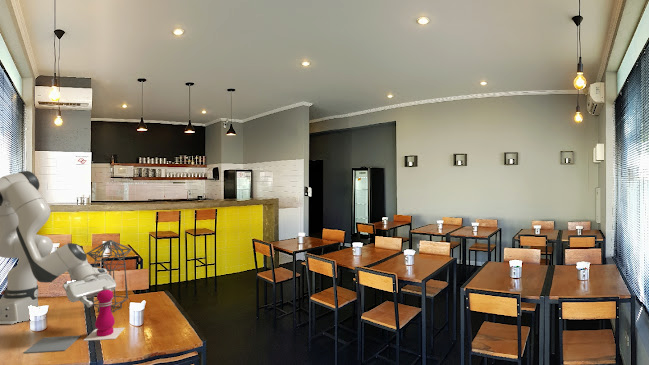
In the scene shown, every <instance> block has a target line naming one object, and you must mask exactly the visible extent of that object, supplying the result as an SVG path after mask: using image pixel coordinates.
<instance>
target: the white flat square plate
mask: <svg viewBox="0 0 649 365" xmlns="http://www.w3.org/2000/svg"><path fill="white" fill-rule="evenodd" d="M97 330H98V329H97V328H95V329H94V330H92V332H90V333H89V335H87V336H86V337H85V338H84V339H83V340H82V341H84V342H86V341H103V340H104V341H105V340H116V339H117V338H118V336H119V335H120V334H121V333H122V332H123V331H124V330H125V327H113V333H112V334H111V335H108V336H97V335H96V331H97Z"/></svg>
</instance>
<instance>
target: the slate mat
mask: <svg viewBox="0 0 649 365" xmlns="http://www.w3.org/2000/svg"><path fill="white" fill-rule="evenodd" d="M79 338H81V335H67V336H49V337H47V336H46V337H41V339H39V340H38V341H37V342H35V343H34V344H32V345H31V346H29V347H28V348H27V349H26V350H24V351H23V352H22V354H23V353H24V354H36V353H38V352H39V353H50V352H52V353H53V352H65V351H67V350H68V349H69V348H70V347H71V346H72V345H73V344H74V343H75V342H76V341H77V340H79Z"/></svg>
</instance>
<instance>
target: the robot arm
mask: <svg viewBox="0 0 649 365" xmlns="http://www.w3.org/2000/svg"><path fill="white" fill-rule="evenodd" d="M39 189H40V181H39V179H38V176H36V174H34V173H33V172H32V171H30V170H23V171H18V172H16V173H12V174H11V173H10V174H8V175H4V176H2V177H0V257H1V258H6V259H18V262H17V265H16V266H14V267H13V268H10V270H9V271H8V273H7V288H6V289H4V290H3V291H1V292H0V295H1V296H2V295H3V296H2V298H0V324H11V325H15V324H14V323H16V324H18V323H17V322H19V323H22V321H23V322H27V321H30V320H29V309H28V306H30V305H32V306H36V307H38V306H39V307H40V305H39V285H38V282H39V283H45V284H46V283H52V282H54V280H56V279H57V278H59V277H60V276H61V275H63V274H65V273H66V272H67V273H68V274H69V278H70V280H68V281H65V282H64V283H63V284H62V289H64V291H65V295H66V296H67V299H68V300H69V301H70V302H72V303H76V302H80V303H82V304H83V305H85V306H86V307H87V308H92V307H93V306H94V305H93V303H92V300H88V299H90V298H92V297H93V296H94V297H95V296H96V297H97V294H98V293H99V292H100V291H102V290H103V287H104V286H107V290H111V291H112V292H114V289H115V290H116V288H117V283H116V280H115V281H114V279H115V278H114V279H113V276H112V275H111V276H110V275H109V273H108V271H107V270H108V269H107V270H106V268H100V267H97V268H94V266H92V265H91V264H90V263H89V261H88V258H87V255H88V254H87V255H86V252H85V250H84V249H83V248H82V246H81V245H79V244H78V243H74V242H72V243H70V242H68V243H66V244H63V245H62V246H61V247H59V248H57V249H56V250H54V251H53V248H54V243H53V240H52V239H51V238H50V237H49V236H47V235H41V234H37V233H38V232H39V231H40V230H41V229H42V227H43V226H44V225H45V224H46V223H47V222H48V220H49V219H50V216H51V212H52V209H51V207H50V205H49V203H48V202H47V200H46V198H45V197H43V195H42V194H41V192H40V191H39ZM106 273H107V274H106ZM112 300H114V297H113V298H112V299H111V301H112Z"/></svg>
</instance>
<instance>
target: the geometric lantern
mask: <svg viewBox="0 0 649 365" xmlns="http://www.w3.org/2000/svg"><path fill="white" fill-rule="evenodd" d="M120 246H121V247H123V248H121V247H120ZM107 249H108V250H110V254H104V253H105V251H106V250H107ZM126 250H127V251H126ZM132 250H133V248H132V247H128V246H127V245H123V244H121V243H118V242H116V241H114V240H112V239H110V240H109V239H108V240H107V241H106V240H105V242H103V243H101V244H100V245H98V246H97V247H94V248H93V249H91V250H90V251H88V252H85V254H86V255H88V256H89V257H91V259H93V260H94V264H93V267H94V268H100V267H103V266H104V267H105V269H106V270H107V273H106V274H109V275H110V276H111V277H112V278H113V279H114V281H115V282H116V280H115V270H118V269H120V268H124V270H123V271H124V289H125V296H124V295H116V288H115V289H114V290H113V300H114V301H112V304H111V313H112V314H113V313H115V312H116V311H118V310H120V309H122V308H123V303H124V302H126V301H128V300H129V291H128V280H127V271H126V269H127V267H126V266H127V265H126V261H125V258H126V256H128V254H130V253H131V251H132ZM115 251H116V252H115ZM119 251H120V252H121V253H120V252H119ZM101 252H102V253H101ZM112 256H113V259H112V260H111V261H110V262H109V263H108V261H107V259H108V258H110V257H112ZM104 257H105V258H104ZM98 258H99V260H98ZM115 258H116V259H118V261H117V263H115V266H114V268H113V269H112V264H113V261H114V260H115ZM121 260H123V261H122V262H123V263H121V264H120V263H119V262H120V261H121ZM104 261H105V262H104ZM96 262H97V264H96ZM99 262H102V263H103V264H102V265H101V264H100V265H99V266H98V264H99ZM108 265H109V267H108ZM117 265H121V266H119V267H116V266H117ZM117 298H123V300H121V301H118V302H117ZM91 301H92V303H93V305H92V306H94V307H95V308H97V312H98V313H99V309H100V308H99V306H98V303H96V302H99V301H98V300H97V299H96V300H95V296H93V297H91ZM115 308H117V309H115Z"/></svg>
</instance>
